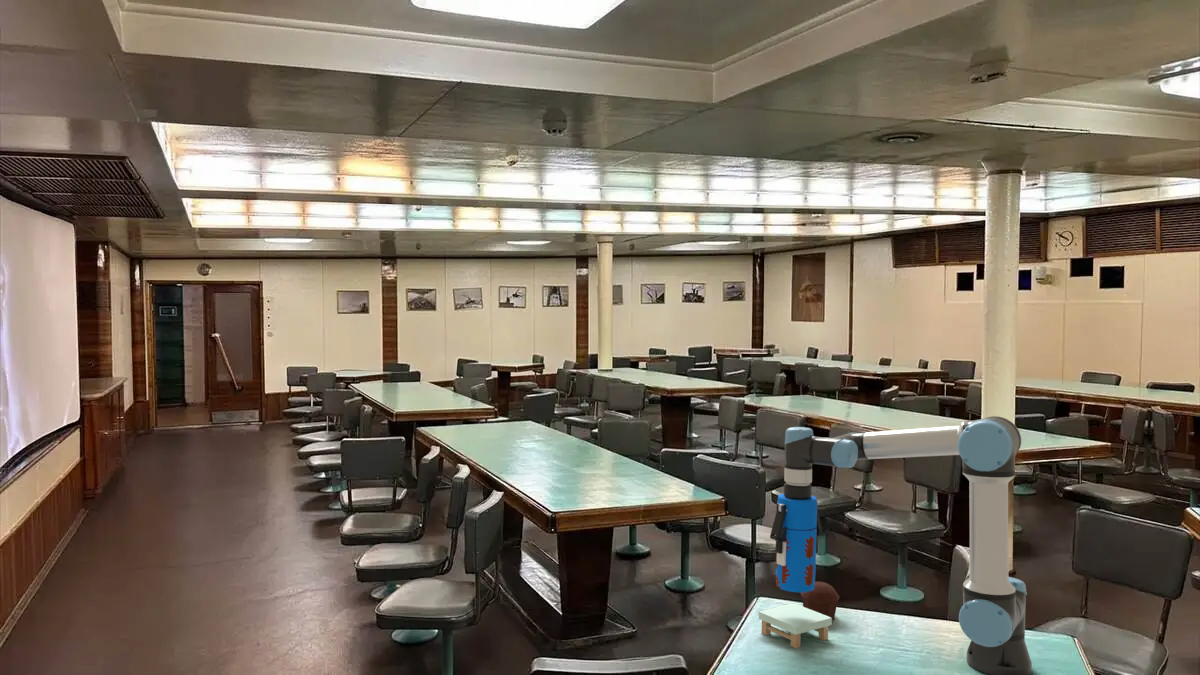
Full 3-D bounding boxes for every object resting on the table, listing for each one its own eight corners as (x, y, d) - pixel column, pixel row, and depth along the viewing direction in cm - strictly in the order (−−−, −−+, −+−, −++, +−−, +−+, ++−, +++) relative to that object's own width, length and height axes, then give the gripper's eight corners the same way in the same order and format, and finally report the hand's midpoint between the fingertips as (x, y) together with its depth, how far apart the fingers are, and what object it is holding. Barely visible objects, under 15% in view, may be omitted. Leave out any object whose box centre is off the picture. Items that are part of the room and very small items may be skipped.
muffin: (843, 624, 243) (844, 590, 242) (805, 623, 243) (806, 589, 243) (833, 610, 254) (833, 577, 254) (796, 609, 255) (797, 576, 255)
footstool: (831, 639, 231) (831, 617, 231) (795, 649, 223) (796, 627, 223) (793, 623, 243) (793, 603, 242) (758, 632, 235) (758, 611, 235)
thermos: (812, 581, 237) (814, 494, 237) (818, 593, 227) (820, 502, 226) (773, 579, 239) (775, 492, 238) (777, 591, 228) (779, 500, 227)
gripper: (816, 477, 242) (814, 552, 242) (757, 484, 229) (755, 564, 229) (836, 481, 235) (834, 558, 236) (777, 489, 222) (775, 571, 223)
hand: (795, 561), depth 233 cm, fingers closed on thermos, 11 cm apart
